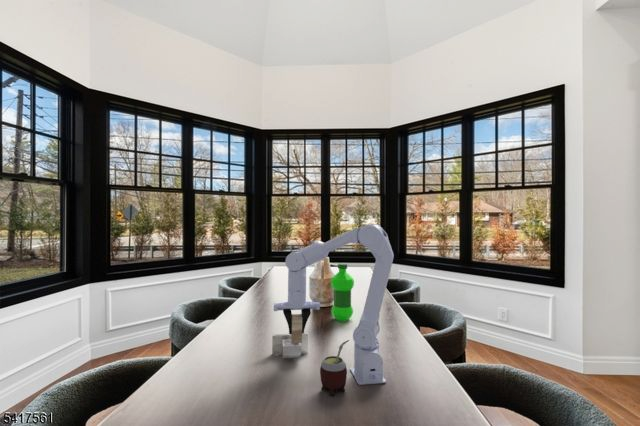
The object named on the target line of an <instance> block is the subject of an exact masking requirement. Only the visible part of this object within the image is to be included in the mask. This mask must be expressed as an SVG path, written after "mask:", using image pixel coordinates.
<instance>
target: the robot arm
mask: <svg viewBox="0 0 640 426" xmlns="http://www.w3.org/2000/svg"><path fill="white" fill-rule="evenodd" d="M349 244H357V245H358V244H361V245H363V247H365V248H366V249H368V251H370V253H371V254H372V255H373V257H374V259H375V263H374V265H373V266H374V267H373V271H372V274H371V279H370V282H369V287H368V290H367V294H366V299H365V302H364V307H363V310H362V314H361V316H360V318H359V323H358V325H357V326H356V327H355V329H353V332H352V339H353V343H354V345H353V346H354V347H353V349H354V350H353V351H354V352H353V357H354V358H353V362H354V363H353V364H354V365H353V366H352V367H350V368H349V369H350V372H351V373H352V375H353V377H354V379H355V381H356V382H357V384H358V385H359V386H362V385H363V386H365V385H375V384H386V383H387V380H386V379H385V377H384V376H383V375H384V374H383V373H384V370H383V369H384V368H383V367H384V366H383V365H384V361H383V358H382V357H383V356H381V354H380V341H379V339H378V338H377V336H378V335H379V333H380V331H381V330H380V322H379V321H380V316H381V315H380V313H381V309H382V306H383V301H384V298H385V294H386V289H387V285H388V282H389V278H390V273H391V269H392V265H393V261H394V258H395V257H394V256H395V254H394V251H393V249H392V245H391V243H390V240H389V236H388V233H387V232H386V231H385V230H384V228H383V227H381V225H379V224H375V223H372V224H365V225H363V226H359V227H356V228H352V229H349V230H347V231H346V232H343V233H341V234H339V235H337V236H335V237H334V238H331V239H329V240H328V241H326V242H323V241H320V240H318V241H317V240H313V241H311V242H310V245H307V246H305V247H299V248H298V251H292V252H290V253H289V254H288V255H287V256H286V257H285V266H286V268H287V271H288V272H287V273H288V274H287V275H288V278H287V301H286V302H278V303H273V312H278V311H282V312H283V315H284V317H285V318H284V319H285V320H286V323H287V327H288V334H292V326H291V321H292V314H293V313H292V311H300V310H301V312H300V314H301V315H302V334H303V333H305V328H306V325H307V322H308V320H309V318H310V316H311V311H312V310H317V311H318V310H319V311H320V309H321V303H320V302H319V301H307V267H308V266H312V265H314V264H315V263H318V262H321V261H322V260H325V259H327V257H328V255H329V253H330V252H332V251H335V250H337V249H339V248H341V247H345V246H347V245H349Z"/></svg>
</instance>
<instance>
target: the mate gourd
mask: <svg viewBox="0 0 640 426" xmlns="http://www.w3.org/2000/svg"><path fill="white" fill-rule="evenodd" d="M349 341H350V339H348V340H345V341H343V342H342V343H341V344H340V345H339V346H338V352H337V355H329V356H326V357H324V358H323V360H322V361H321V363H320V369H319V375H320V382H321V390H322V391H328V392H330V397H331V398H333V397H334V396H335V392H336V393H338V392H339V393H345V392H346V388H345V387H346V384H347V383H346V382H347V374H348V373H347V371H348V369H347V364H346V362H345V360H344V359H343V358H342V357H340V355H341V351H342V350H343V347H344V345H345V344H347V343H348V342H349Z"/></svg>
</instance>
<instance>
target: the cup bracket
mask: <svg viewBox="0 0 640 426" xmlns="http://www.w3.org/2000/svg"><path fill="white" fill-rule="evenodd" d="M271 343H272V345H271V346H272V349H271V350H272V351H271V353H272V355H271V356H282V359H291V358H292V359H293V358H301V357H302V354H308V353H309V333H308V332H304V333H303V334H302V343H292V342H291V334H289V333H276V334H274V333H273V334H272V339H271Z"/></svg>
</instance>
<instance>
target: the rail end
mask: <svg viewBox="0 0 640 426" xmlns="http://www.w3.org/2000/svg"><path fill="white" fill-rule="evenodd" d="M291 326H292V334H291V342H292V343H302V315H301V313H292V321H291Z"/></svg>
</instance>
